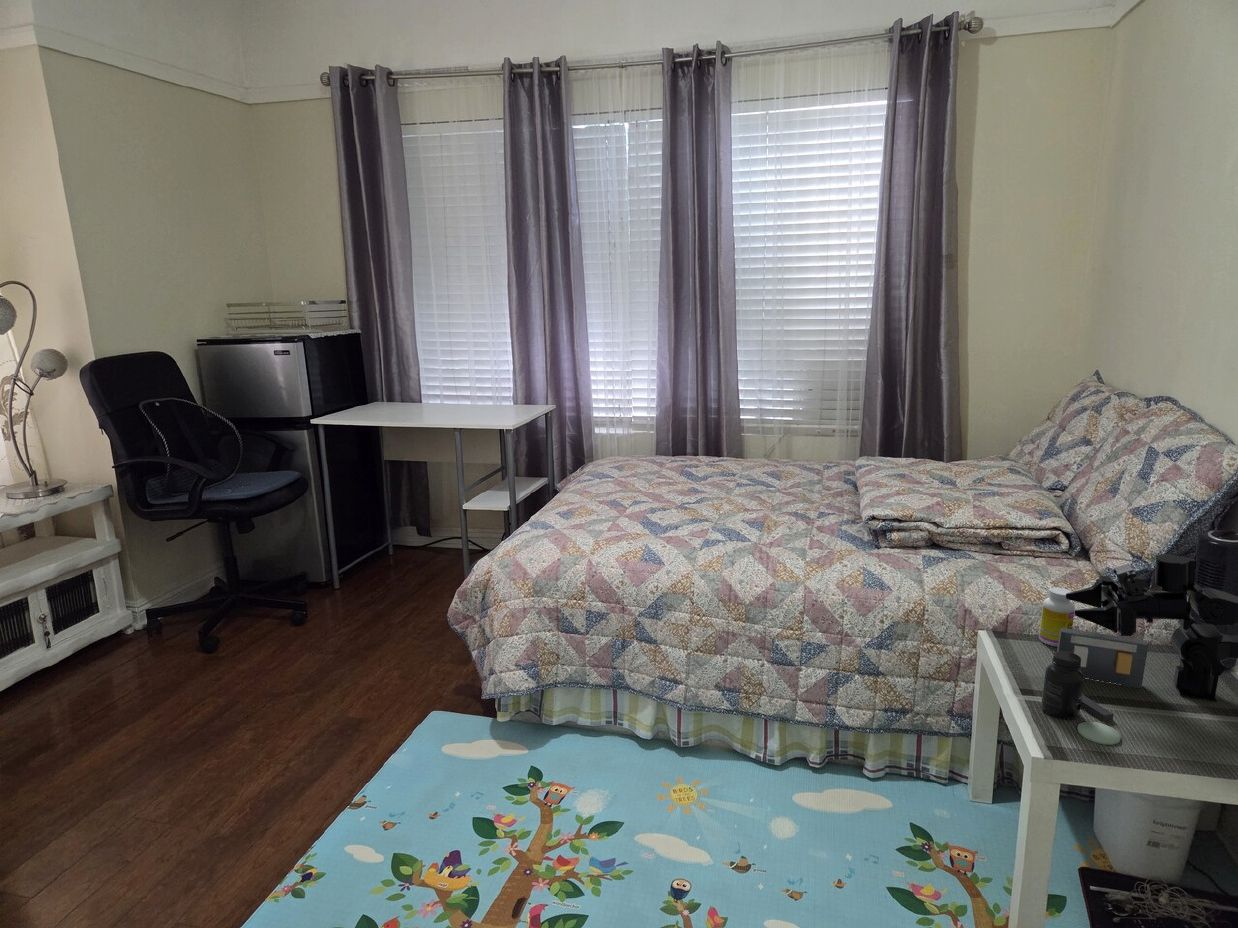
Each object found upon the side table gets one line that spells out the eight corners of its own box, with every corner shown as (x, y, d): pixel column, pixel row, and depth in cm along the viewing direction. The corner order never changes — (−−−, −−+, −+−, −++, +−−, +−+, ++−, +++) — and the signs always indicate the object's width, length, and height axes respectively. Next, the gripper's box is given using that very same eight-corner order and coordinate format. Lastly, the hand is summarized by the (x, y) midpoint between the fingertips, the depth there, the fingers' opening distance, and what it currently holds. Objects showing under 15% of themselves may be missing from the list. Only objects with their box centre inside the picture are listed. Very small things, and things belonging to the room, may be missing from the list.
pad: (1117, 729, 154) (1117, 726, 154) (1122, 748, 148) (1123, 745, 148) (1075, 721, 157) (1076, 718, 157) (1079, 739, 151) (1080, 736, 151)
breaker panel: (1139, 683, 172) (1146, 640, 169) (1141, 689, 169) (1148, 645, 167) (1054, 669, 178) (1060, 627, 175) (1055, 674, 175) (1061, 632, 173)
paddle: (1085, 664, 173) (1087, 647, 172) (1085, 667, 171) (1088, 650, 170) (1072, 662, 173) (1074, 645, 173) (1073, 665, 172) (1075, 648, 171)
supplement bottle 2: (1086, 720, 157) (1094, 664, 155) (1051, 720, 158) (1058, 664, 155) (1068, 702, 164) (1075, 648, 161) (1034, 702, 164) (1041, 648, 162)
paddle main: (1128, 671, 169) (1131, 654, 169) (1129, 674, 168) (1132, 656, 167) (1115, 669, 170) (1117, 652, 169) (1116, 672, 169) (1118, 654, 168)
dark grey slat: (1049, 688, 170) (1050, 681, 170) (1057, 687, 171) (1058, 679, 170) (1103, 723, 157) (1104, 715, 157) (1112, 722, 158) (1113, 713, 157)
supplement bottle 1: (1068, 650, 187) (1075, 598, 184) (1036, 643, 190) (1043, 592, 187) (1071, 639, 192) (1078, 589, 189) (1040, 633, 196) (1046, 583, 193)
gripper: (1142, 553, 174) (1061, 553, 179) (1170, 584, 156) (1079, 584, 162) (1142, 601, 176) (1061, 600, 181) (1169, 638, 159) (1079, 636, 164)
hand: (1070, 604), depth 172 cm, fingers open, 9 cm apart
